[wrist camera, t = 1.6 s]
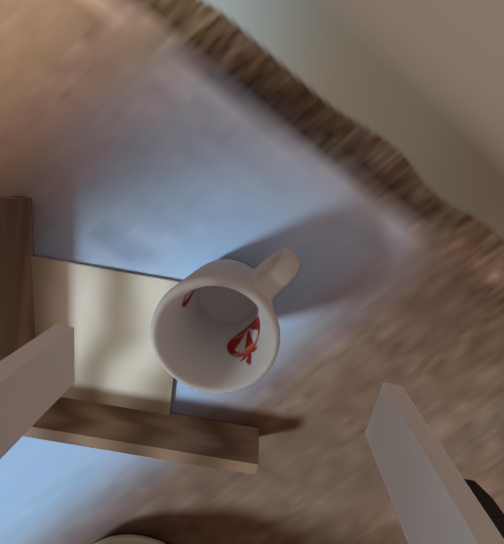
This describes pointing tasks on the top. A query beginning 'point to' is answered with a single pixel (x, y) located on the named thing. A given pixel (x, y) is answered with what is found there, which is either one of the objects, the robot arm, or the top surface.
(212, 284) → the cup
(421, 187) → the top surface
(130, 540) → the kettle
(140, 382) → the wooden corner frame
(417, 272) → the top surface
